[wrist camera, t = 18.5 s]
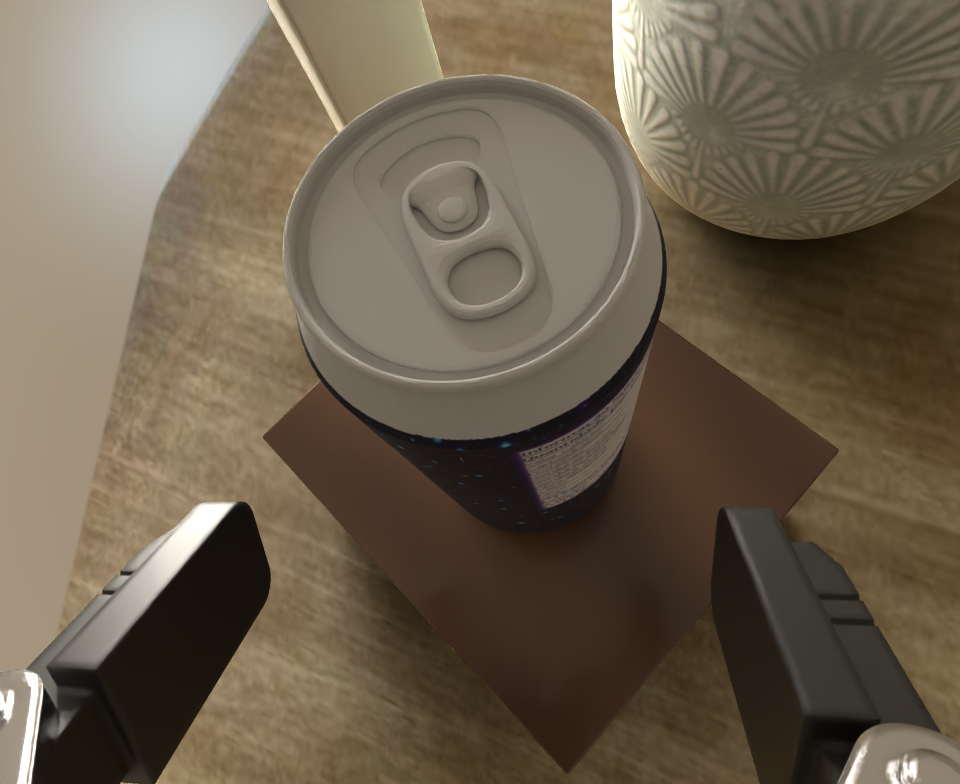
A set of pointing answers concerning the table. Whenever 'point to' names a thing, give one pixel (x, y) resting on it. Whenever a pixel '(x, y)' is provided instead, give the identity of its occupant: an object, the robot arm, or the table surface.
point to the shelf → (568, 540)
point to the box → (359, 50)
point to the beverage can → (483, 290)
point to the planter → (792, 107)
